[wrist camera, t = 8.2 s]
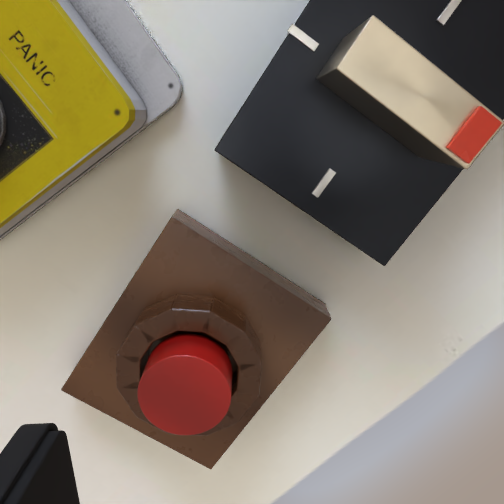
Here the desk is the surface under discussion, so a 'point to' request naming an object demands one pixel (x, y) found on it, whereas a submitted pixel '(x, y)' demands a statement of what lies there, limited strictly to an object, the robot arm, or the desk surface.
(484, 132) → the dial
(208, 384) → the button
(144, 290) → the button block
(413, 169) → the panel
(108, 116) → the emergency button
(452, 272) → the desk surface
